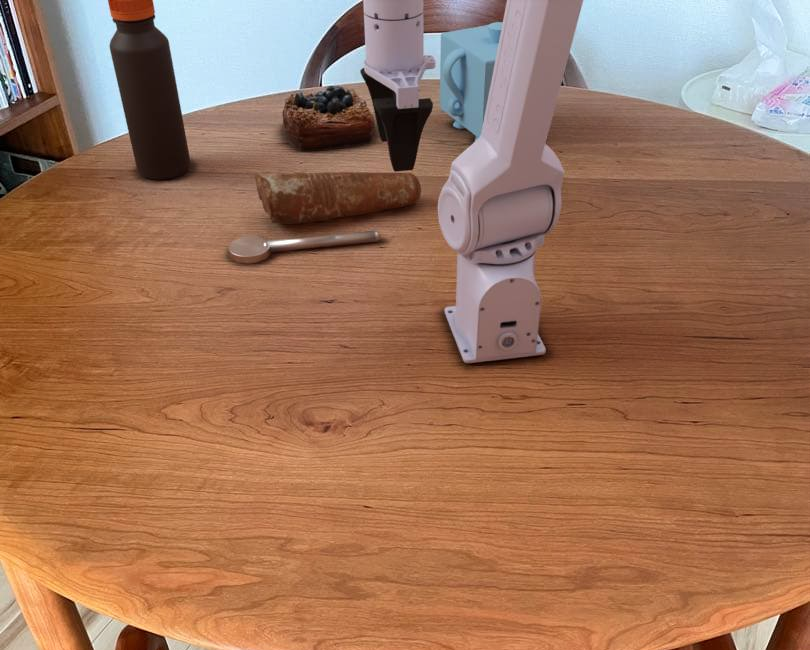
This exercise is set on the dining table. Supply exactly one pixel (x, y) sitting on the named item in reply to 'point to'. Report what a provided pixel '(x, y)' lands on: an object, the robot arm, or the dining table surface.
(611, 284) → the dining table surface
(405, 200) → the brown wooden log
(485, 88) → the teapot
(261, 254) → the spoon
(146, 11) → the bottle
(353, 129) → the pastry
